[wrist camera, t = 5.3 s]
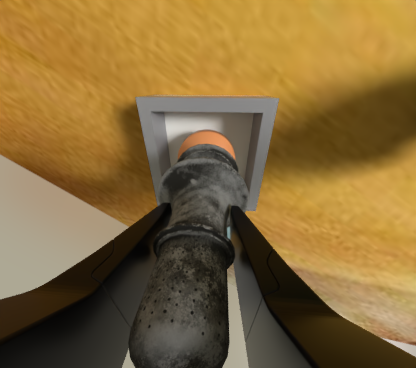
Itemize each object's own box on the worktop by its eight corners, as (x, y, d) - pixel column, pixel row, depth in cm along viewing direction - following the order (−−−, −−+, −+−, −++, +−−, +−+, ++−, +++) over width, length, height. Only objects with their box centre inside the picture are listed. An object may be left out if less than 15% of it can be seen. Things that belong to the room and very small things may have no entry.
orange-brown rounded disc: (237, 129, 15) (238, 133, 14) (232, 181, 18) (232, 187, 17) (177, 128, 15) (174, 131, 14) (182, 179, 18) (180, 185, 17)
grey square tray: (264, 95, 16) (279, 98, 12) (248, 188, 21) (255, 211, 18) (155, 94, 16) (135, 97, 12) (168, 186, 22) (157, 206, 18)
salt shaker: (228, 209, 15) (245, 468, 5) (167, 193, 15) (41, 443, 4) (254, 152, 12) (447, 528, 2) (177, 129, 12) (-164, 467, 1)
